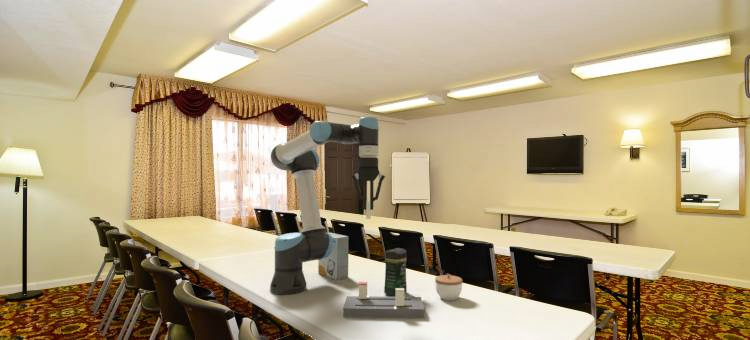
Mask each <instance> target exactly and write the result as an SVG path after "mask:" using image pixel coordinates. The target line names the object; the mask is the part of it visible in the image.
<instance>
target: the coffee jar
mask: <svg viewBox="0 0 750 340" xmlns="http://www.w3.org/2000/svg"><path fill="white" fill-rule="evenodd" d="M407 256H408V255H407V250H406V249H405V248H402V247H401V248H400V247H396V248H393V249H387V250H386V251H385V253H384V261H385V272H384V273H385V274H384V276H385V277H384V287H383V288H384V289H383V291H384V292H383V293H384V294H386V295H387V296H388V297H396V288H404V294H406V293H407V287H408V285H407V258H408V257H407Z"/></svg>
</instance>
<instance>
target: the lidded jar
mask: <svg viewBox="0 0 750 340" xmlns="http://www.w3.org/2000/svg"><path fill="white" fill-rule="evenodd" d="M434 281H435V282H434V284H435V289H436V293H437V295H438V296H439V297H440V299H441V300H444V301H448V302H449V301H455V300H457V298H459V297H460V295H461V292H462V289H463V279H462V277H460V276H456V275H451V274H450V273H447V274H445V275H443V274H441V275H437V276H435V278H434Z"/></svg>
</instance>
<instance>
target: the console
mask: <svg viewBox="0 0 750 340" xmlns="http://www.w3.org/2000/svg"><path fill="white" fill-rule="evenodd" d="M395 298H396V296H373V295H372V296H370V295H367V299H359V295H357V296H356V295H349V296H348V295H346V298H345V301H344V304H343V308H342V317H343V318H370V319H371V318H373V319H374V318H379V319H380V318H386V319H425V310H426V309H425V306H424V303H423V300H422V297H421V296H404V306H396V304H395Z"/></svg>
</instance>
